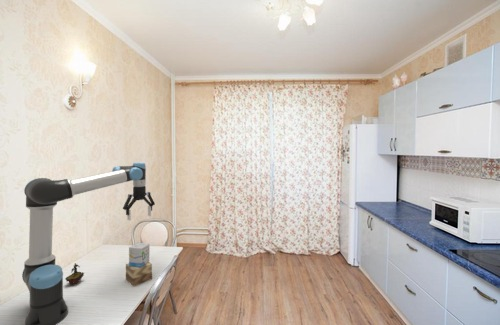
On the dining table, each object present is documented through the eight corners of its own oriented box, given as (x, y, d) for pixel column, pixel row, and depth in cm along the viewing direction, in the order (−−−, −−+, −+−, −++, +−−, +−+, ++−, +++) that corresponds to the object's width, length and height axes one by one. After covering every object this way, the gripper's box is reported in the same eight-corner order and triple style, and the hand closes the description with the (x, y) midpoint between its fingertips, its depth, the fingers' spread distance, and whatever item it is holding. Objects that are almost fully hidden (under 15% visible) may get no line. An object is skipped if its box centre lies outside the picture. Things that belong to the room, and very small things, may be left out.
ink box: (141, 267, 139) (140, 248, 139) (128, 266, 141) (128, 247, 141) (149, 261, 148) (149, 243, 147) (138, 259, 150) (137, 241, 149)
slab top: (133, 278, 137) (133, 270, 136) (126, 272, 144) (125, 264, 144) (151, 271, 145) (151, 264, 144) (144, 265, 152) (144, 258, 152)
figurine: (75, 278, 144) (74, 259, 144) (87, 279, 144) (87, 259, 143) (61, 287, 135) (61, 267, 134) (74, 288, 134) (74, 267, 134)
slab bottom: (133, 287, 137) (133, 278, 137) (125, 280, 144) (125, 272, 144) (152, 279, 145) (152, 271, 145) (143, 273, 152) (143, 265, 152)
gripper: (121, 188, 143) (122, 223, 144) (160, 184, 162) (160, 215, 163) (116, 187, 148) (117, 220, 148) (154, 183, 167) (154, 213, 168)
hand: (139, 217), depth 156 cm, fingers open, 13 cm apart
